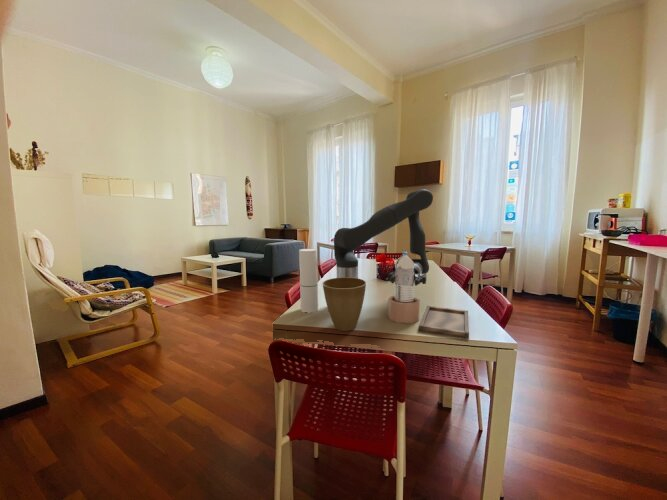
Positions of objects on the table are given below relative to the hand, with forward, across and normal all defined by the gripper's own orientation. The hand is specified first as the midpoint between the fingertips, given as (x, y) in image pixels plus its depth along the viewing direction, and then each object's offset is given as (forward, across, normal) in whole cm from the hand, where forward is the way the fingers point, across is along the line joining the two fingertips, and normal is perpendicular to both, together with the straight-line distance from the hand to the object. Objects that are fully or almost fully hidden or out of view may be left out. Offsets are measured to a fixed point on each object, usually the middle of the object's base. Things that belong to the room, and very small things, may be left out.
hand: (403, 281), depth 101 cm
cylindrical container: (+6, -37, +14) cm, 40 cm away
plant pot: (+16, -17, +14) cm, 27 cm away
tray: (-2, +14, +14) cm, 20 cm away
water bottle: (-1, 0, +14) cm, 14 cm away
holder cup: (-1, 0, +14) cm, 14 cm away
